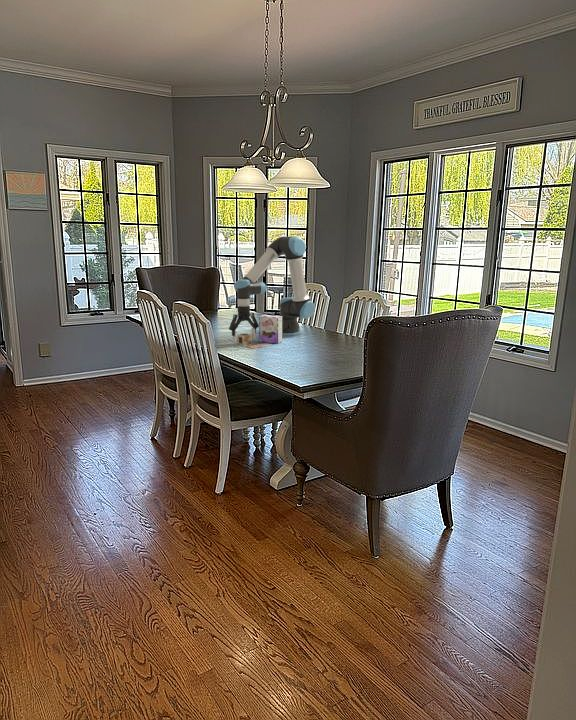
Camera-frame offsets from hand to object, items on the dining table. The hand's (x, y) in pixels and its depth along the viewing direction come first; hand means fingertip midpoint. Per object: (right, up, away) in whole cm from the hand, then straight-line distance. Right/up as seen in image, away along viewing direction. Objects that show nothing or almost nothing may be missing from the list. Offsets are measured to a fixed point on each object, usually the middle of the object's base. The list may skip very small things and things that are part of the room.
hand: (244, 340), depth 324 cm
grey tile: (+13, -3, -3) cm, 13 cm away
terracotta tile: (+6, -4, -8) cm, 11 cm away
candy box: (+16, -1, +7) cm, 17 cm away
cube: (0, -2, +1) cm, 3 cm away
